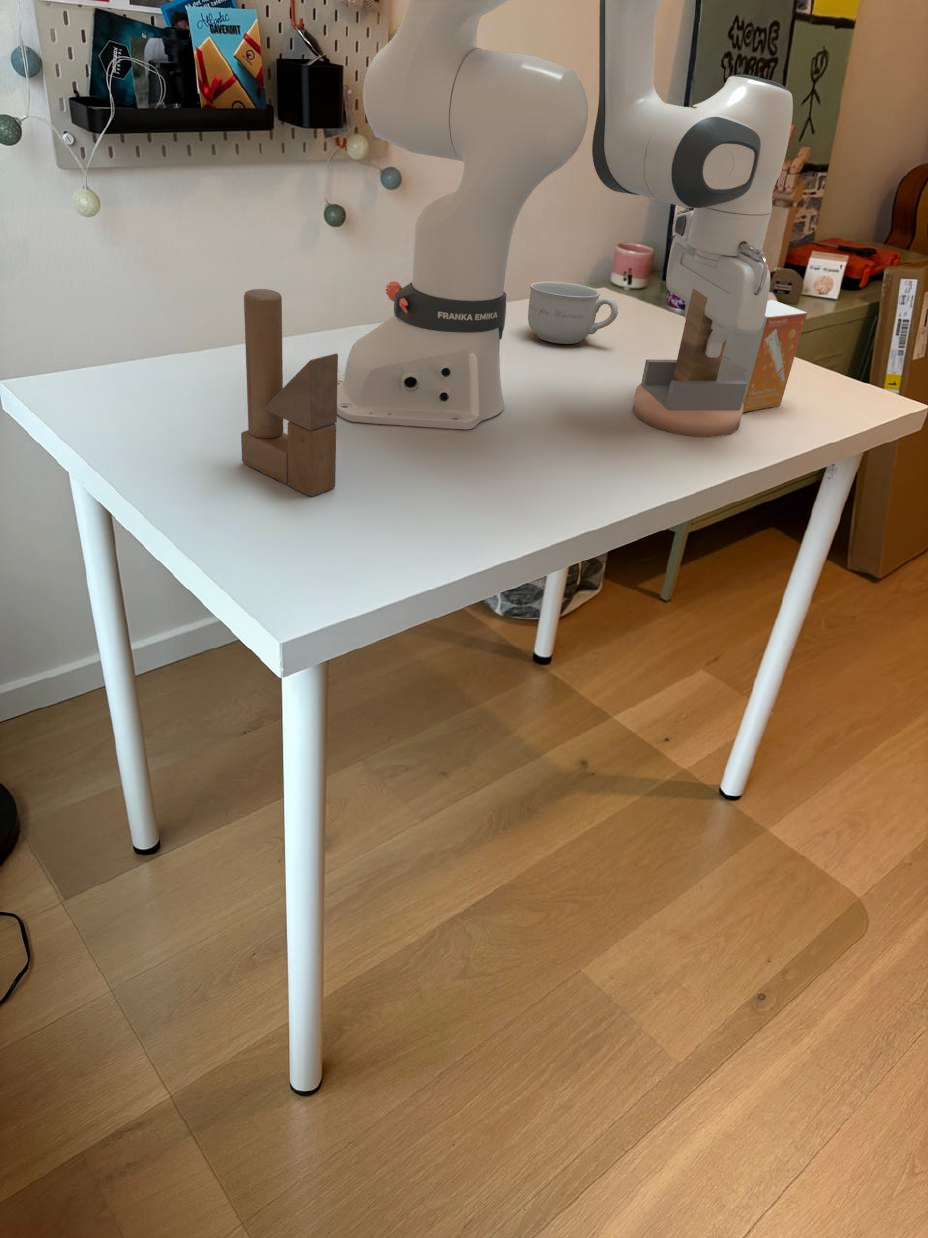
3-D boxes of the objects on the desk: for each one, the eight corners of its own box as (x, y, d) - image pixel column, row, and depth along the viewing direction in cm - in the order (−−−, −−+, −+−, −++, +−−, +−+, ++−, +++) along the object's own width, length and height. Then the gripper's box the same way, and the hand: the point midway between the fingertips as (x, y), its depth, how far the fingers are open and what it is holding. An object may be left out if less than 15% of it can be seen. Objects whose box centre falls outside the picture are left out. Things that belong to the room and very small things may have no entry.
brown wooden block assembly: (310, 498, 96) (311, 318, 86) (240, 463, 101) (233, 290, 91) (337, 488, 98) (340, 312, 88) (267, 455, 104) (263, 285, 94)
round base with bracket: (657, 437, 118) (667, 390, 115) (616, 396, 129) (624, 352, 126) (758, 436, 121) (770, 390, 118) (710, 396, 133) (720, 354, 129)
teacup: (511, 337, 148) (517, 284, 144) (546, 324, 156) (553, 273, 151) (589, 360, 142) (598, 305, 138) (622, 345, 150) (631, 293, 145)
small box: (742, 414, 128) (767, 316, 121) (708, 397, 132) (730, 302, 125) (782, 406, 132) (809, 311, 125) (747, 391, 136) (772, 298, 129)
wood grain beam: (684, 393, 121) (706, 297, 115) (671, 382, 124) (692, 288, 118) (713, 393, 122) (736, 298, 116) (699, 382, 125) (721, 289, 119)
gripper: (795, 255, 105) (762, 377, 113) (713, 216, 122) (690, 324, 129) (743, 253, 104) (714, 376, 111) (668, 214, 120) (647, 323, 128)
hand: (700, 348), depth 120 cm, fingers closed on wood grain beam, 4 cm apart
